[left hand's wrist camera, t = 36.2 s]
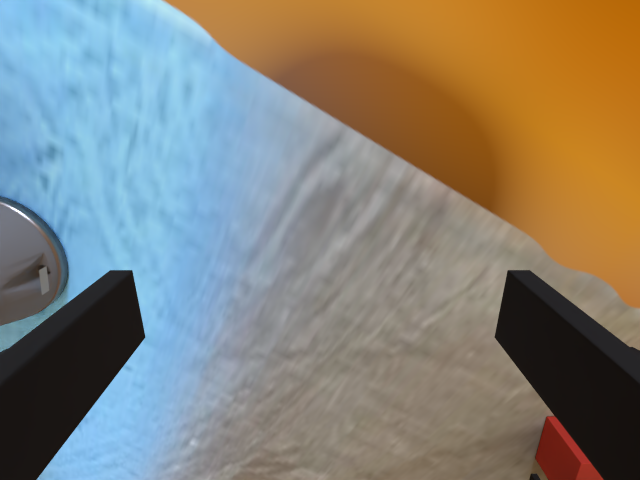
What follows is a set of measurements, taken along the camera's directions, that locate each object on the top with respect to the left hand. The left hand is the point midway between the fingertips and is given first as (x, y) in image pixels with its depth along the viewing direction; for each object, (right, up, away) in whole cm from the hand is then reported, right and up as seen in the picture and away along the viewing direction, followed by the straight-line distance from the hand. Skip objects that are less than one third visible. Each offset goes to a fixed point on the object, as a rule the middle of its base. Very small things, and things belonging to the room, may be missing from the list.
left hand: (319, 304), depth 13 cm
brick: (+35, -27, +40) cm, 60 cm away
